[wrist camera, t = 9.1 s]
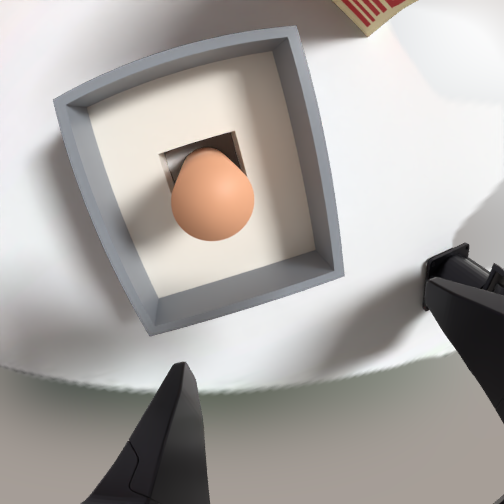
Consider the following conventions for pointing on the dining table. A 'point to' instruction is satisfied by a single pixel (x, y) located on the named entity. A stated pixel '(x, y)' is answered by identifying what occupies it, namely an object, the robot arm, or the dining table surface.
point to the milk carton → (371, 12)
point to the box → (251, 164)
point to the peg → (211, 196)
